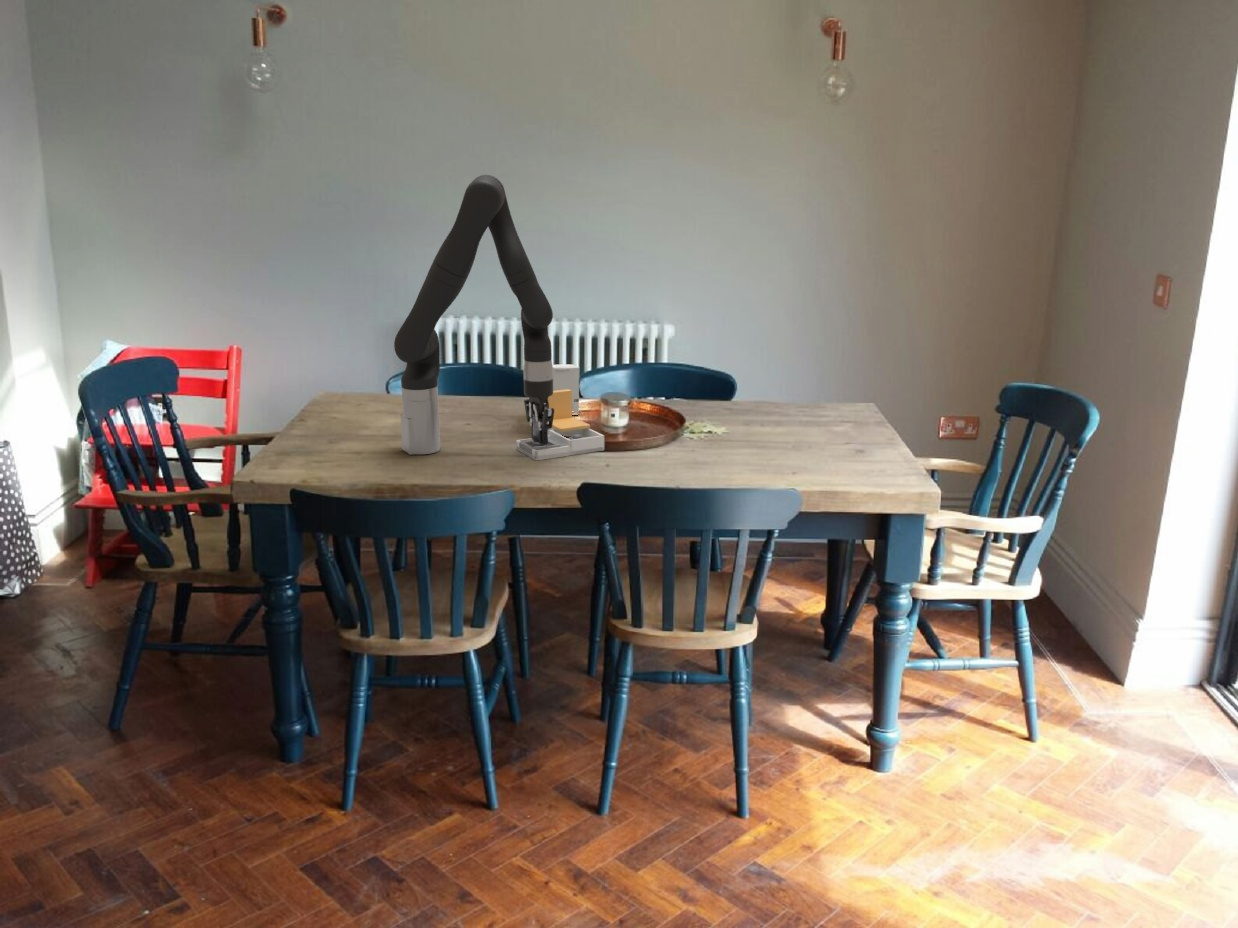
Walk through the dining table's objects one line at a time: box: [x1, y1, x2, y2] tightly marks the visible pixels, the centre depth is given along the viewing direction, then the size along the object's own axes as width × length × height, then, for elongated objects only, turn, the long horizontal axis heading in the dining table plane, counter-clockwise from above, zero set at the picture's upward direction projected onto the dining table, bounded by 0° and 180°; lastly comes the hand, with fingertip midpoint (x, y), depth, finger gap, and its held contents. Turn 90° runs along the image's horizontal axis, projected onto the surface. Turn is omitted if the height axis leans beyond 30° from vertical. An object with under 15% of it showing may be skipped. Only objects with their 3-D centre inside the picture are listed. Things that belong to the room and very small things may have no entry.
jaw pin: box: [532, 415, 548, 446], centre depth 295 cm, size 4×4×8 cm
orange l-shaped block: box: [548, 389, 591, 432], centre depth 306 cm, size 9×12×8 cm
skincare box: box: [552, 363, 580, 414], centre depth 334 cm, size 8×6×15 cm
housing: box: [515, 428, 605, 461], centre depth 302 cm, size 20×20×4 cm
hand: (539, 441), depth 295 cm, fingers closed on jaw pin, 4 cm apart
